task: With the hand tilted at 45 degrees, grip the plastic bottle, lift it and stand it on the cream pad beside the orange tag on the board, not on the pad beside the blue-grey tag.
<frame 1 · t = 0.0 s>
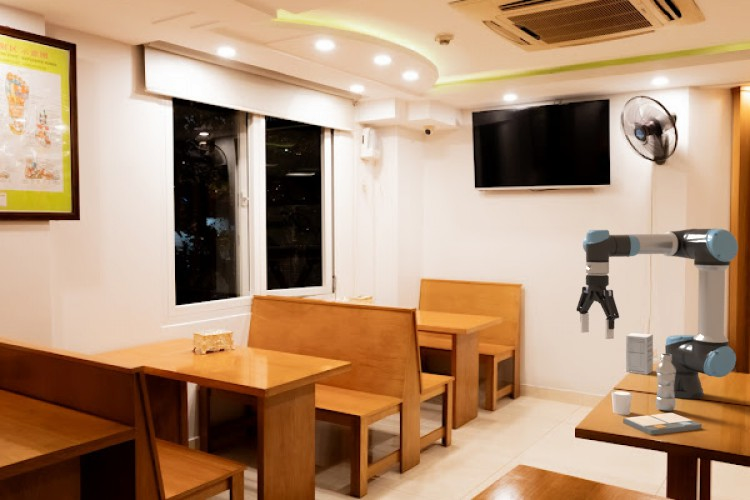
hand: (596, 335, 220), 28 cm above the table, tool pointing down, fingers open, 13 cm apart
plastic bottle: (665, 410, 226), on the table
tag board: (661, 425, 209), on the table
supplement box: (639, 372, 286), on the table
white cup: (621, 413, 224), on the table
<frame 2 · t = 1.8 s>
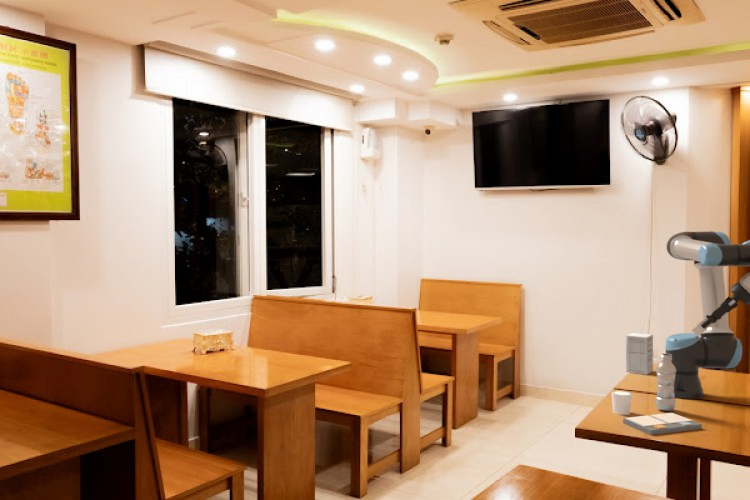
hand: (697, 330, 220), 29 cm above the table, tool tilted 45°, fingers open, 13 cm apart
nothing on the table moved.
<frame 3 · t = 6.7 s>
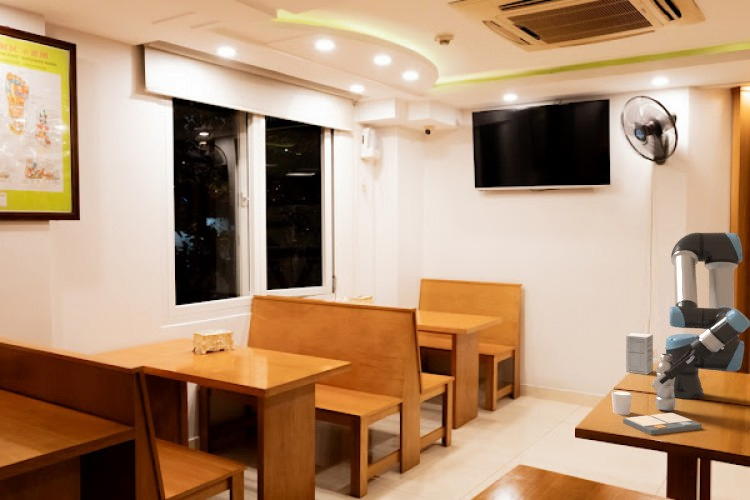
hand: (654, 385, 228), 8 cm above the table, tool tilted 45°, fingers closed on plastic bottle, 6 cm apart
plastic bottle: (665, 410, 226), on the table, touching gripper
everything else where it was.
when the fingers open (12 cm above the table, at t = 13.4 s): plastic bottle drops 1 cm, resting on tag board.
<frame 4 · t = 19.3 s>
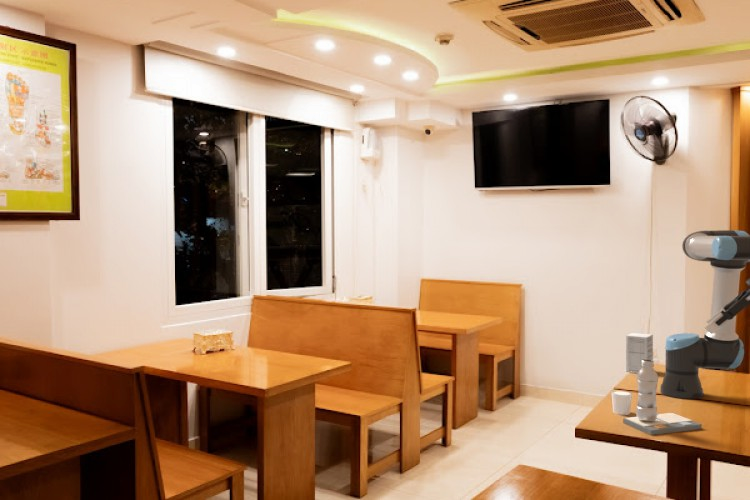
hand: (708, 327, 200), 34 cm above the table, tool tilted 45°, fingers open, 13 cm apart
plastic bottle: (646, 421, 208), point 2 cm above the table, touching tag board
everything else where it was.
at the end: plastic bottle 0.2 cm from the target spot on the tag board, point 1.6 cm above the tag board's base; plastic bottle tilted 0°; the gripper is holding nothing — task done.
